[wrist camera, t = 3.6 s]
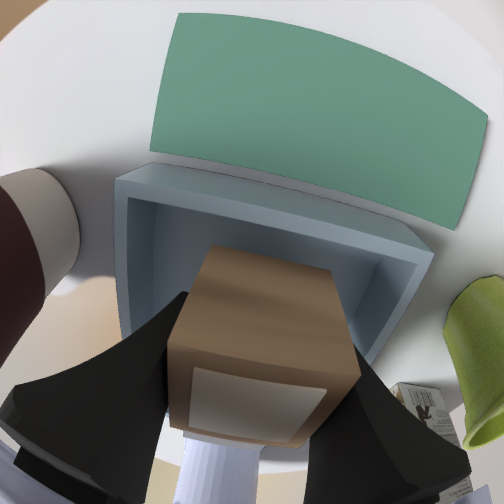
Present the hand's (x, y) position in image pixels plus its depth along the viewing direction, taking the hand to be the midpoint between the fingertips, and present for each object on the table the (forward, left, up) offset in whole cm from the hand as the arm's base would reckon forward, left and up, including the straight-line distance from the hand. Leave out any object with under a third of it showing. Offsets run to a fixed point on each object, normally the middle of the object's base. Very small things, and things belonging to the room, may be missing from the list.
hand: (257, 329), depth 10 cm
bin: (-3, 0, -5) cm, 6 cm away
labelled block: (0, 0, -1) cm, 1 cm away
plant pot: (0, -15, -5) cm, 16 cm away
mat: (+8, -1, -5) cm, 9 cm away
